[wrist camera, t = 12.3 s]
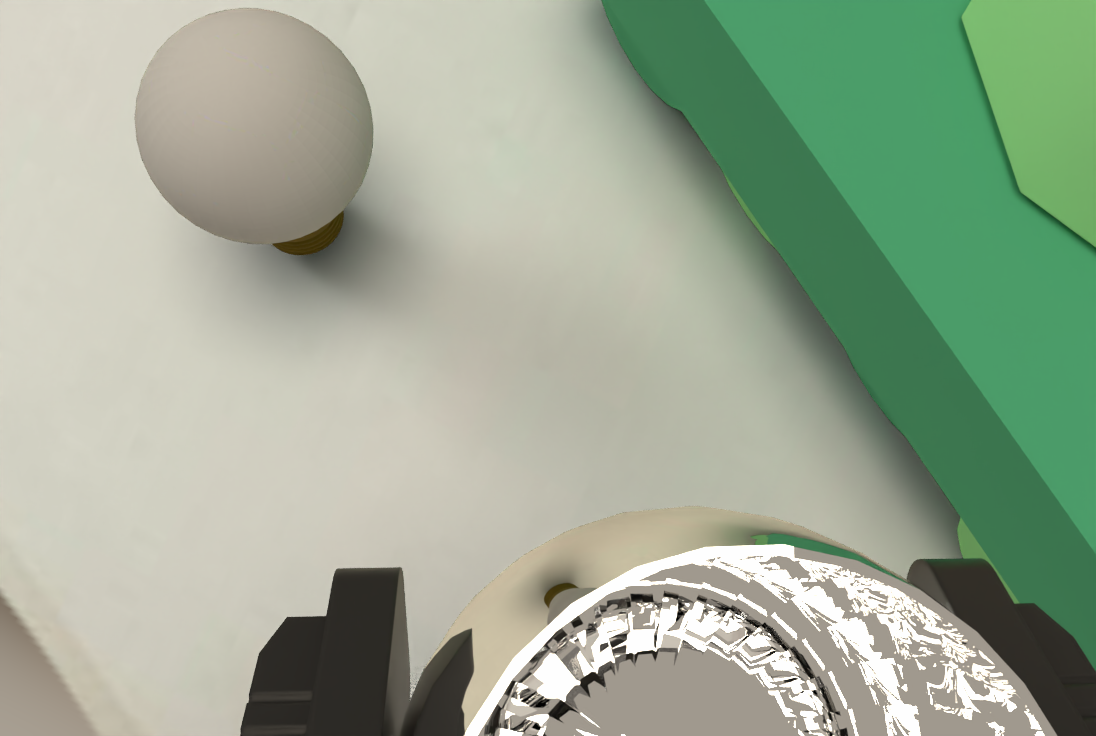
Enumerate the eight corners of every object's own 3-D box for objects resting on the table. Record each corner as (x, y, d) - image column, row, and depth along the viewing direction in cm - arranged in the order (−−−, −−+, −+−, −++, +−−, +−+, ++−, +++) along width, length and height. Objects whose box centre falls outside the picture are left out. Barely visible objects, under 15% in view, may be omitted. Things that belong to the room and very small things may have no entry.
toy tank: (993, -767, 28) (1971, 306, 22) (844, -356, 40) (1454, 412, 34) (423, -528, 25) (1370, 773, 19) (445, -162, 37) (1037, 711, 31)
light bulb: (228, 133, 34) (120, -54, 25) (407, 149, 35) (371, -30, 25) (201, 304, 33) (76, 179, 23) (387, 320, 33) (341, 202, 23)
